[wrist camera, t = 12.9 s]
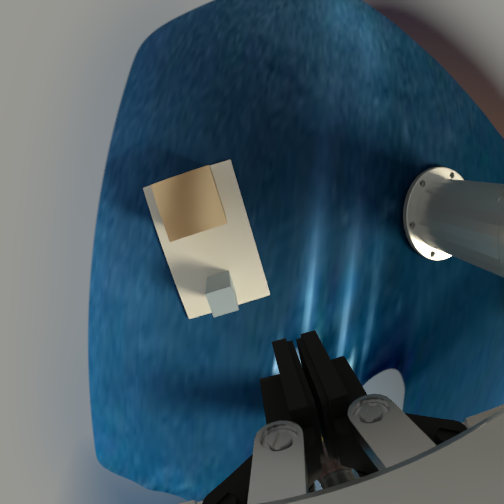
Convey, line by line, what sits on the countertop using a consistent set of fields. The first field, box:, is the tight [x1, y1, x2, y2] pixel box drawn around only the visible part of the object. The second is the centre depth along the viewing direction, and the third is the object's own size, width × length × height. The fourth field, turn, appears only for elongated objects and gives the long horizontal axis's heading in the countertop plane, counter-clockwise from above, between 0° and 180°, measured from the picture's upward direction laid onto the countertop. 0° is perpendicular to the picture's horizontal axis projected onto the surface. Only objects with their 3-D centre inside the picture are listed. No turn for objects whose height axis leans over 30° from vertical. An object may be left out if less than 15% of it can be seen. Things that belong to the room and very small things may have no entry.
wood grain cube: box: [151, 165, 227, 242], centre depth 31 cm, size 5×5×7 cm
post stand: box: [143, 159, 270, 319], centre depth 33 cm, size 10×16×6 cm, turn 16°
